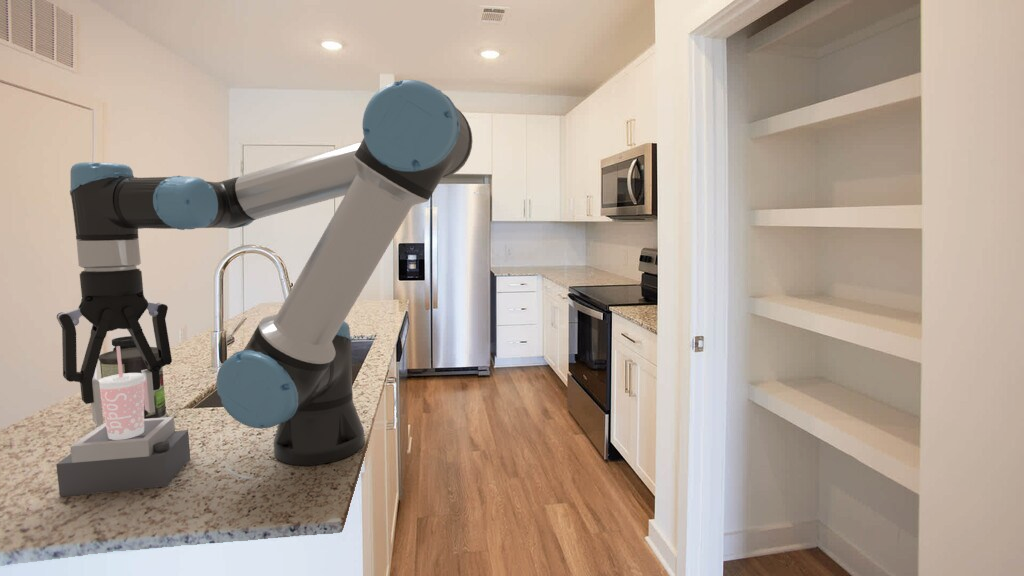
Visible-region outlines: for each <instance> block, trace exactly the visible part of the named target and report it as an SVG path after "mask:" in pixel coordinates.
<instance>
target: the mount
mask: <svg viewBox="0 0 1024 576" xmlns="http://www.w3.org/2000/svg"><path fill="white" fill-rule="evenodd" d="M189 436H190V435H189V429H186V430H185V429H183V430H176V427H175V417H174V416H169V417H168V416H166V417H164V418H150V419H144V432H143V433H142V434H140V435H138V436H135V437H132V438H128V439H121V440H112V439H109V438H108V433H107V428H106V422H105V421H104V422H103V424H101V425H98V427H96V428H95V429H93V430H92V431H91V432H89V433H87V434H86V435H84V436H83V437H82V438H81V439H79V440H77V441H76V442H75V443H73V444H72V445H70V446H69V447H70V454H68V455H66V457H64V458H62V459H61V460H59V462H57V463H56V464H55V465H56V474H57V482H58V483H57V484H58V491H59V492H58V493H59V498H62V497H70V496H71V497H72V496H80V495H82V496H83V495H91V494H102V493H112V492H122V491H123V492H124V491H135V490H144V489H154V488H164V487H168V485H170V483H171V482H172V480H173V479H174V478H175V477H176V476H177V475H178V474H179V472H180V471H181V470H182V469H183V468H184V467H185V465H186V464H187V463H188V461H190V460H191V449H190V448H191V447H190V437H189ZM183 466H184V467H183Z"/></svg>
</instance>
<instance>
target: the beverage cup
mask: <svg viewBox="0 0 1024 576" xmlns="http://www.w3.org/2000/svg"><path fill="white" fill-rule="evenodd" d="M116 350H117V360H118V371H119V374H117V375H112V376H108V377H104V378H99V379H97V380H98V381H99V385H100V395H101V405H102V413H103V416H104V417H103V418H104V423H105V422H106V428H107V433H108V438H109V439H112V440H121V439H128V438H132V437H135V436H138V435H140V434H142V433H143V432H144V383H143V382H144V381H145V375H144V374H143V373H125V374H123V372H122V362H121V352H120V346H117V347H116Z"/></svg>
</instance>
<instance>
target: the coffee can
mask: <svg viewBox="0 0 1024 576" xmlns="http://www.w3.org/2000/svg"><path fill="white" fill-rule="evenodd" d="M150 348H151V350H152V352H153V354H154V356H155V358H156V359H157V358H158V352H157V346H150ZM120 352H121V362H122V372H123V374H125V373H141V370H146V369H147V366H146V364H145V362H144V360H143V358H142V356H141V354H140V352H139V350H138V348H137V347H136V348H127V349H120ZM98 362H99V365H100V366H99V367H100V376H101V377H100V379H102V378H104V377H108V376H112V375H117V374H119V371H118V360H117V350H115V351H113V350H111V351H107V352H104V353H102V354H101V353H100V355H99V359H98ZM163 369H164V368H163V367H161V370H160V371H159V377H160V388H159V389H158V390H153V392H154V403H155V412H154V413H149V412H147V411H146V410H145V407H144V419H150V418H164V417H168V414H167V408H166V407H167V406H166V398H165V397H166V396H165V394H166V393H165V383H164V370H163ZM147 370H148V369H147Z"/></svg>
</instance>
